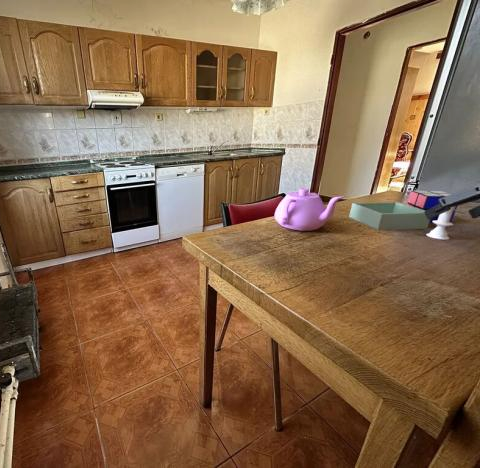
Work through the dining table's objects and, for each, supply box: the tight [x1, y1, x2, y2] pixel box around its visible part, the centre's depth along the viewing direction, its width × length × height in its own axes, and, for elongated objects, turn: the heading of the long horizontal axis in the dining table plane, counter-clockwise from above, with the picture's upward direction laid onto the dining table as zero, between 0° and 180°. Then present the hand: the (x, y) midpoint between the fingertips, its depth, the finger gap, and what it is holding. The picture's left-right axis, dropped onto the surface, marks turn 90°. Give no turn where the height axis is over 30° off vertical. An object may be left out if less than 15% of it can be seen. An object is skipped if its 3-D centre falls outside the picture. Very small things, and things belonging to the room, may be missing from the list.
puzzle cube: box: [406, 190, 458, 223], centre depth 98 cm, size 10×10×10 cm
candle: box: [426, 207, 456, 241], centre depth 81 cm, size 5×5×12 cm
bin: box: [348, 201, 430, 231], centre depth 96 cm, size 17×15×6 cm
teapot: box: [274, 188, 344, 232], centre depth 92 cm, size 22×22×14 cm
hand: (449, 215), depth 79 cm, fingers open, 13 cm apart
